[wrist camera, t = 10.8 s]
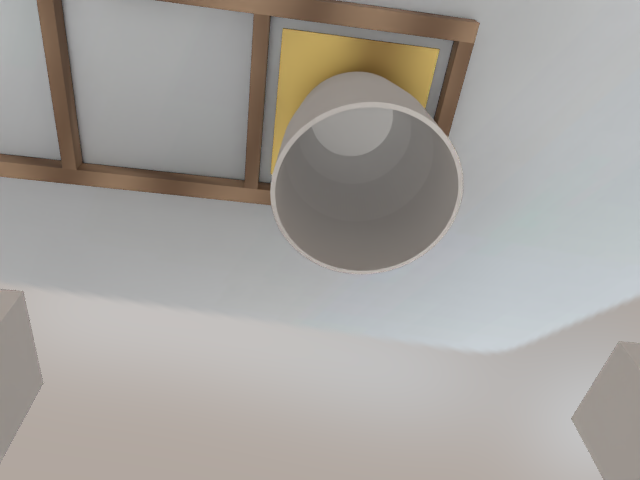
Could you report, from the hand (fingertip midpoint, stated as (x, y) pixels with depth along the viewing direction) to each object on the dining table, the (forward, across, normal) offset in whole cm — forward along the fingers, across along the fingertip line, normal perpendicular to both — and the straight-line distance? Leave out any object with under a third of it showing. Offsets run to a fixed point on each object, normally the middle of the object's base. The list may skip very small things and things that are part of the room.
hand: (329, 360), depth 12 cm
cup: (+21, +2, -1) cm, 21 cm away
